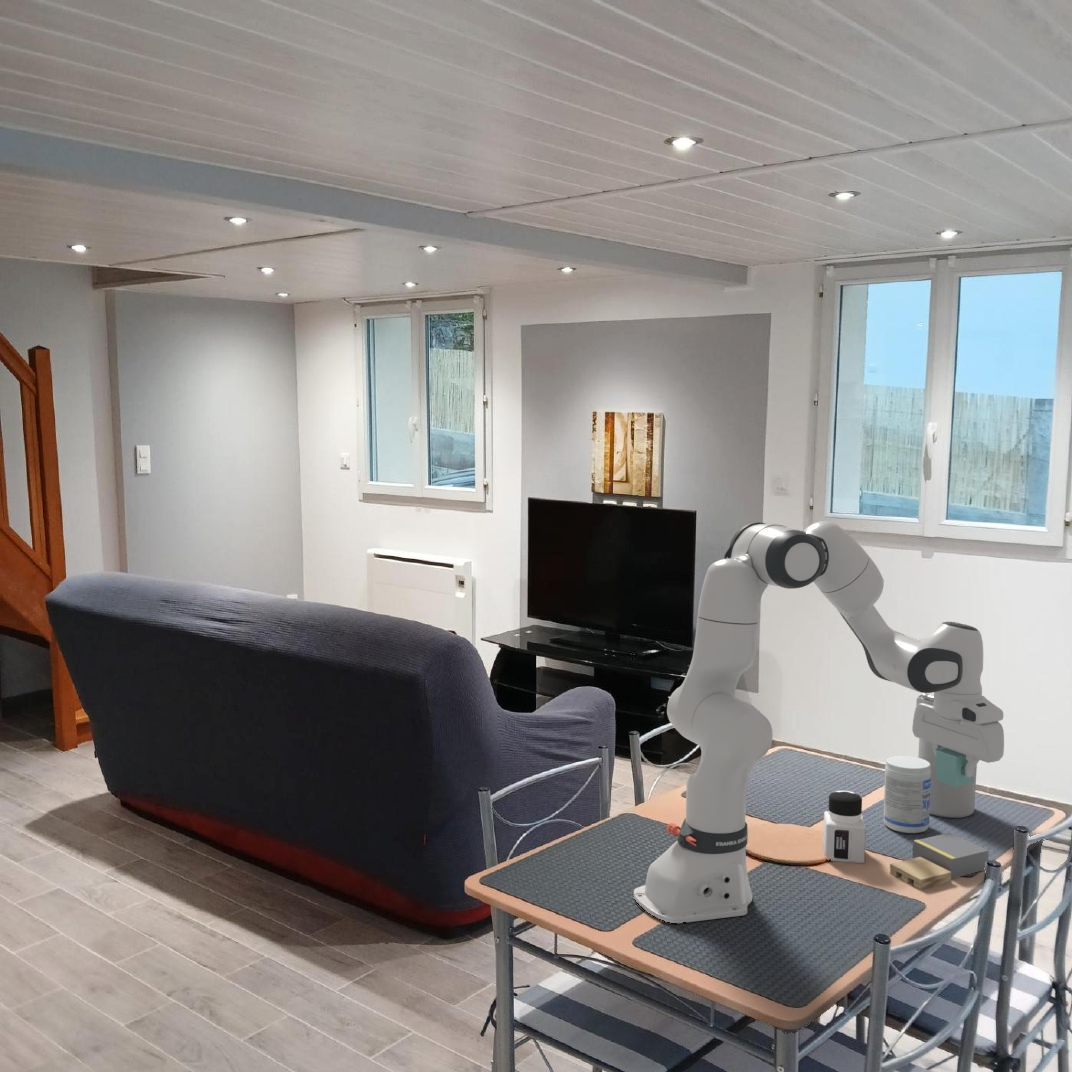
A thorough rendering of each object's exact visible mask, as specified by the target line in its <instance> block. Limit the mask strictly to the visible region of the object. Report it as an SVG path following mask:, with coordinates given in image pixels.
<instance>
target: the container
mask: <svg viewBox="0 0 1072 1072" xmlns="http://www.w3.org/2000/svg"><path fill="white" fill-rule="evenodd" d="M862 798H863V797H861V795H859V794H858V793H856V792H853V791H850V790H835V791H833V792H831V793H829V795H828V811H827V810H825V811H824V813H823V830H822V831H823V833H822V834H823V839H822V845H823V844H824V848H823V851H824V850H825V854H824V857H825V856H826V857H830V859H831V862H844V863H852V864H853V863H856V864H864V863H865V861H866V839H867V836H866V835H867V834H866V833H867V828H866V824H865V819H864V815H863V813H862V812H863V799H862Z"/></svg>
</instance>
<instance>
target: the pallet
mask: <svg viewBox="0 0 1072 1072" xmlns="http://www.w3.org/2000/svg"><path fill="white" fill-rule="evenodd" d="M889 875H892V876H894V877H895V878H899V877H901V881H903V882H905V883H907V884H909V883H913V887H915V888H916V889H918V890H923V889H927V888H931V887H936V886H939V885H943V884H947V883H951V881H952V879H951V872H950V871H948V870H946V869H944V868H942V867H940V866H938V865H936V864H934V863H932V862H930V861H928V860H926V859H924V858H922V857H917V858H913V857H912V858H909V859H905V860H901V861H897V862H892V863H889Z"/></svg>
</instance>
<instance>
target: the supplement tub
mask: <svg viewBox="0 0 1072 1072" xmlns="http://www.w3.org/2000/svg"><path fill="white" fill-rule="evenodd" d="M884 767H885V768H884V794H883V795H884V797H883V823H884V825H885V826H886V827H888V828H889V829H890V830H893V831H895V832H899V833H906V834H919V833H923V832H926V831H927V830H928V829H929V827H930V814H929V810H930V785H931V769H930V763H929V762H928V761H926V760H924V759H921V758H918V756H917V757H916V756H909V755H894V756H890V757H887V759H886V760H885V766H884Z"/></svg>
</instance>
